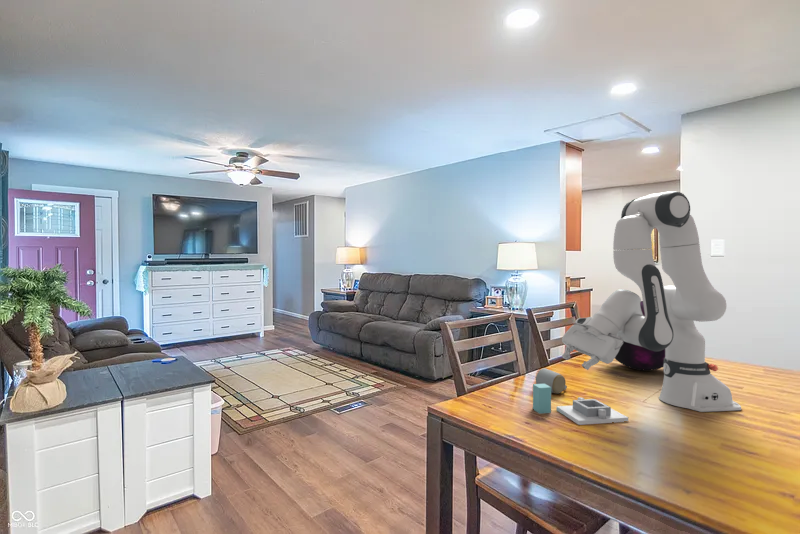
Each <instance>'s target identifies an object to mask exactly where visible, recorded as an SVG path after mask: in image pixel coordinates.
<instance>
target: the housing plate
mask: <svg viewBox="0 0 800 534" xmlns="http://www.w3.org/2000/svg"><path fill="white" fill-rule="evenodd" d="M556 411H557V412H559V413H560V414H561V415H563V416H565V417H566V418H568V419H569V420H571V421H573V422H574V423H575V424H577V425H578V426H580V425H595V424H598V425H599V424H613V423H612V422H614V423H625V422H624V421H628V422H629V417H628V416H626V415H625V414H622V413H620V412H619V411H617V410H616V409H614V408H612V407H611V406H609V405H607V404H605V403H603V402H601V401H599V400H597V399H596V398H589V399H585V397H582V396H581V397H580V396H579V397H577V399H572V405H559V406H558V405H557V406H556Z"/></svg>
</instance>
